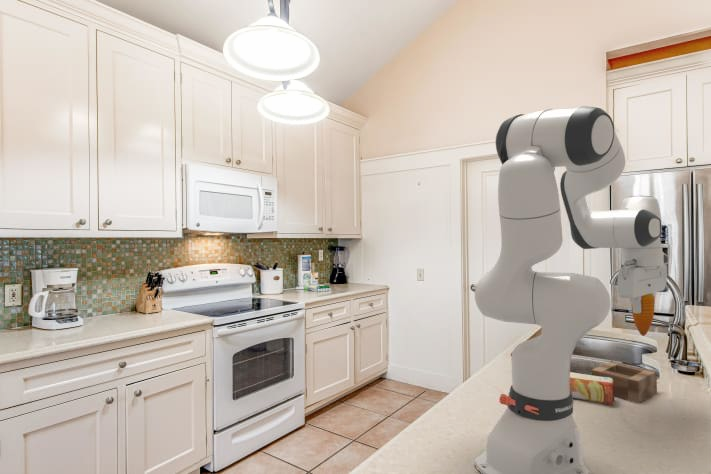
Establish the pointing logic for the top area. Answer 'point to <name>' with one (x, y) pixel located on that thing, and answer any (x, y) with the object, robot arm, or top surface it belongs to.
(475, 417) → the top surface
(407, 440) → the top surface
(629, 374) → the socket block
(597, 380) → the snack package
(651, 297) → the carrot
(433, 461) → the top surface
